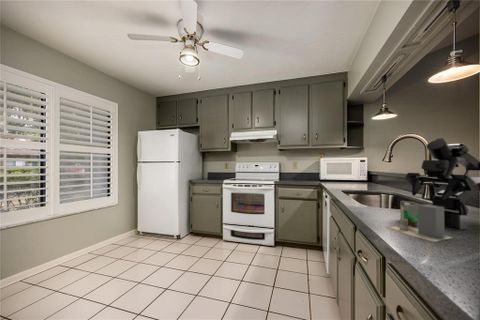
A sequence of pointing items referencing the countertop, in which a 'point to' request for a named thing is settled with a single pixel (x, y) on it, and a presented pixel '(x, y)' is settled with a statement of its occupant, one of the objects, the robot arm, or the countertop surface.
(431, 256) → the countertop surface
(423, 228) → the tall gray pillar
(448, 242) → the countertop surface
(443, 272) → the countertop surface
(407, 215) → the food container
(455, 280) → the countertop surface
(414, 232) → the stand board
